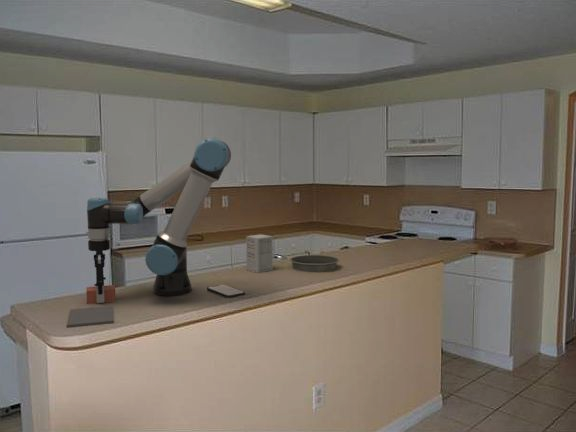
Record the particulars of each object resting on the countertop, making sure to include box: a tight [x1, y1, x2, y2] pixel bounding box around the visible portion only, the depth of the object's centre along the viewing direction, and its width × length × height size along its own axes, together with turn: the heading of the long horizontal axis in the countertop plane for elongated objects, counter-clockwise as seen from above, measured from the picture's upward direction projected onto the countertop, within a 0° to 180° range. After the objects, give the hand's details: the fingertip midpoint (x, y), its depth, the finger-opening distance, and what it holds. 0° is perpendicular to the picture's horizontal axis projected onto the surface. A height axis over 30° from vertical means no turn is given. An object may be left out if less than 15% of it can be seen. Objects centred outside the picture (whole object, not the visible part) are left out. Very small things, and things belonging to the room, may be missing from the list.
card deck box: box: [86, 284, 116, 305], centre depth 190 cm, size 10×6×5 cm, turn 112°
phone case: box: [206, 284, 246, 299], centre depth 203 cm, size 9×2×16 cm
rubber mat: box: [66, 305, 115, 328], centre depth 170 cm, size 14×18×1 cm
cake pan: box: [289, 254, 340, 273], centre depth 253 cm, size 25×25×4 cm
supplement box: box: [245, 233, 273, 274], centre depth 245 cm, size 10×9×17 cm
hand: (100, 299), depth 190 cm, fingers open, 7 cm apart
